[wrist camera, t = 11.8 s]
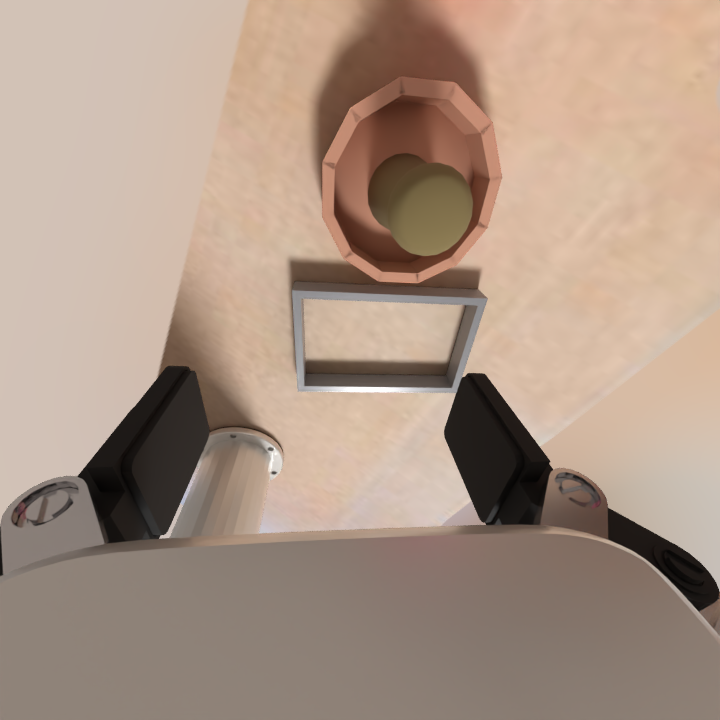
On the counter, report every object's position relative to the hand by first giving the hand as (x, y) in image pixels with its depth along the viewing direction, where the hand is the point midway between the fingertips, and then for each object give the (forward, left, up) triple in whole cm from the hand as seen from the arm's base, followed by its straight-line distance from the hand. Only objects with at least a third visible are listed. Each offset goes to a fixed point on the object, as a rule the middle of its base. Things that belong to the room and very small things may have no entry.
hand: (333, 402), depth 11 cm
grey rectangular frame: (-10, -6, -22) cm, 25 cm away
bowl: (+5, -6, -22) cm, 24 cm away
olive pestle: (+5, -6, -22) cm, 23 cm away
